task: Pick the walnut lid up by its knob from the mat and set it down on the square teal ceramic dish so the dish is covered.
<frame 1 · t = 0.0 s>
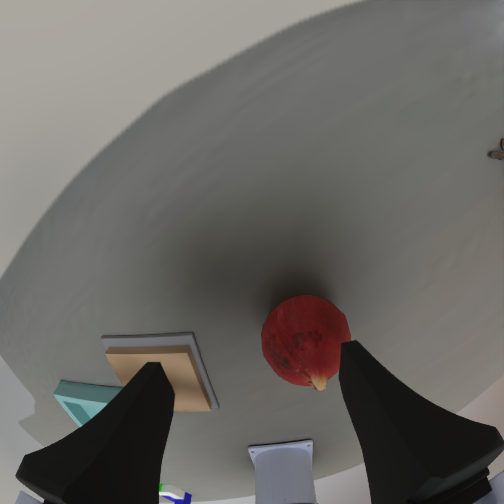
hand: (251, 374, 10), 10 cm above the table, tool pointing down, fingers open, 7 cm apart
pomegranate: (297, 308, 21), on the table
lid: (160, 378, 23), resting on mat
dish: (109, 411, 27), on the table
mat: (161, 375, 24), on the table
building blocks: (143, 481, 37), on the table
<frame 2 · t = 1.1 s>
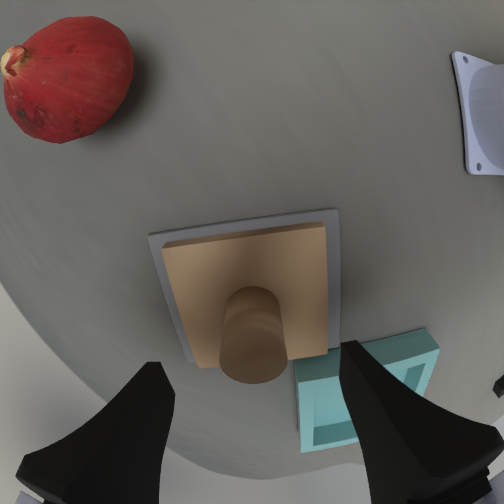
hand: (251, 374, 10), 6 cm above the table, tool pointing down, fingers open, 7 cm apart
pomegranate: (108, 89, 12), on the table
lid: (252, 299, 16), resting on mat
dish: (358, 388, 19), on the table
mat: (252, 296, 16), on the table
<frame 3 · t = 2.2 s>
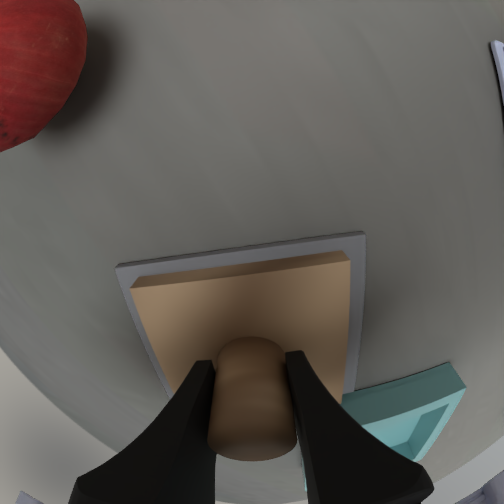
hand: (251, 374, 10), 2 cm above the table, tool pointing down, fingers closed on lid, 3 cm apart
pomegranate: (67, 79, 8), on the table
lid: (251, 347, 12), resting on mat, touching gripper
dish: (370, 427, 15), on the table
mat: (251, 341, 12), on the table
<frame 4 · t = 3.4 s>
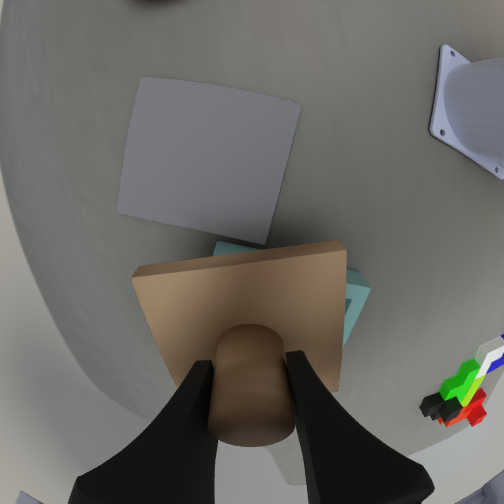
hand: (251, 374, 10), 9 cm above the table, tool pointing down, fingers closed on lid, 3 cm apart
lid: (250, 334, 12), point 7 cm above the table, touching gripper
dish: (272, 318, 20), on the table
mat: (202, 156, 16), on the table
building blocks: (458, 384, 26), on the table
when the fingers open (5 cm above the table, at t = 4.6 s): lid stays where it is, resting on dish.
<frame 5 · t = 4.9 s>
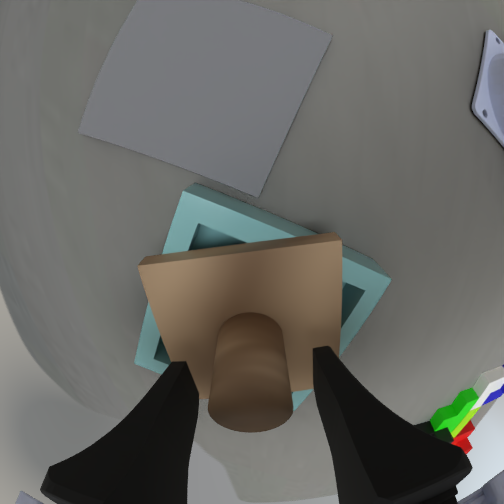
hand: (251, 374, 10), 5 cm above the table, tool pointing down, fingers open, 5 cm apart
lid: (250, 325, 13), point 2 cm above the table, touching dish
dish: (251, 304, 15), on the table
mat: (196, 73, 11), on the table
building blocks: (448, 414, 22), on the table
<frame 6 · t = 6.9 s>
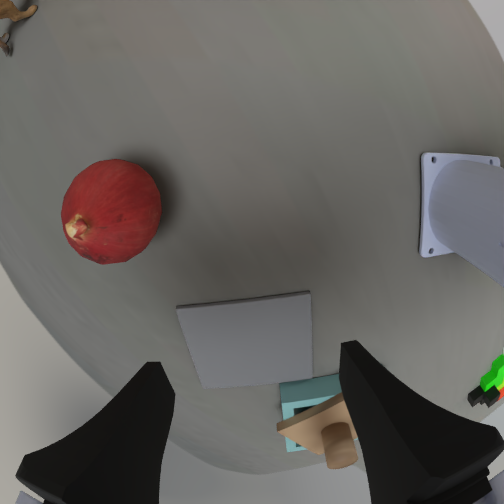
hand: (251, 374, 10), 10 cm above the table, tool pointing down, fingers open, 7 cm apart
pomegranate: (136, 198, 18), on the table
lid: (333, 422, 23), point 2 cm above the table, touching dish
dish: (330, 405, 25), on the table
mat: (250, 346, 22), on the table
building blocks: (496, 371, 27), on the table
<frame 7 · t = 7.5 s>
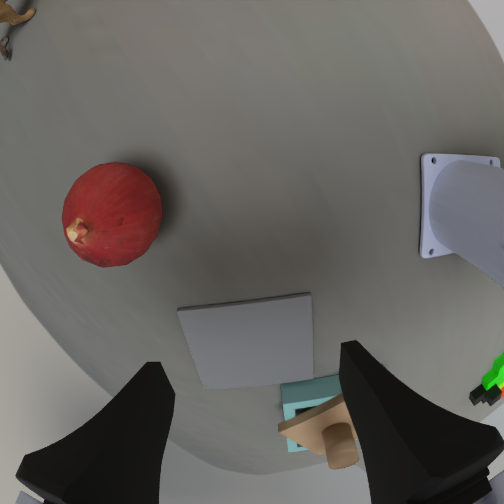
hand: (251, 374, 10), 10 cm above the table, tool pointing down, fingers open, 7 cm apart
pomegranate: (137, 200, 18), on the table
lid: (334, 422, 23), point 2 cm above the table, touching dish
dish: (331, 405, 25), on the table
mat: (251, 347, 22), on the table
building blocks: (497, 369, 27), on the table
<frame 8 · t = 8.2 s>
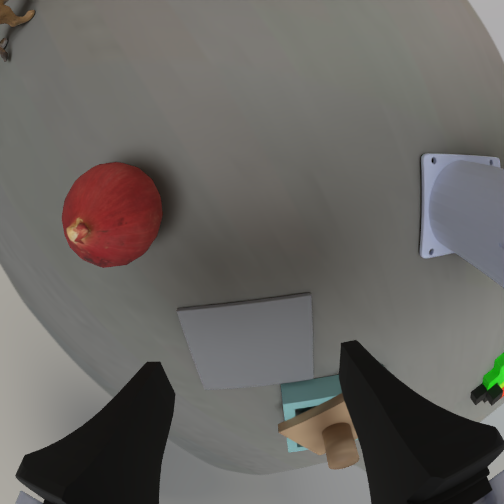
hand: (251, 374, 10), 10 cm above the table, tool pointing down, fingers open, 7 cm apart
pomegranate: (137, 200, 18), on the table
lid: (334, 422, 23), point 2 cm above the table, touching dish
dish: (331, 405, 25), on the table
mat: (251, 347, 22), on the table
building blocks: (498, 368, 27), on the table
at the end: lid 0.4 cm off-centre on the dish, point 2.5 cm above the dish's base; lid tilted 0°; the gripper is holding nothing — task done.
